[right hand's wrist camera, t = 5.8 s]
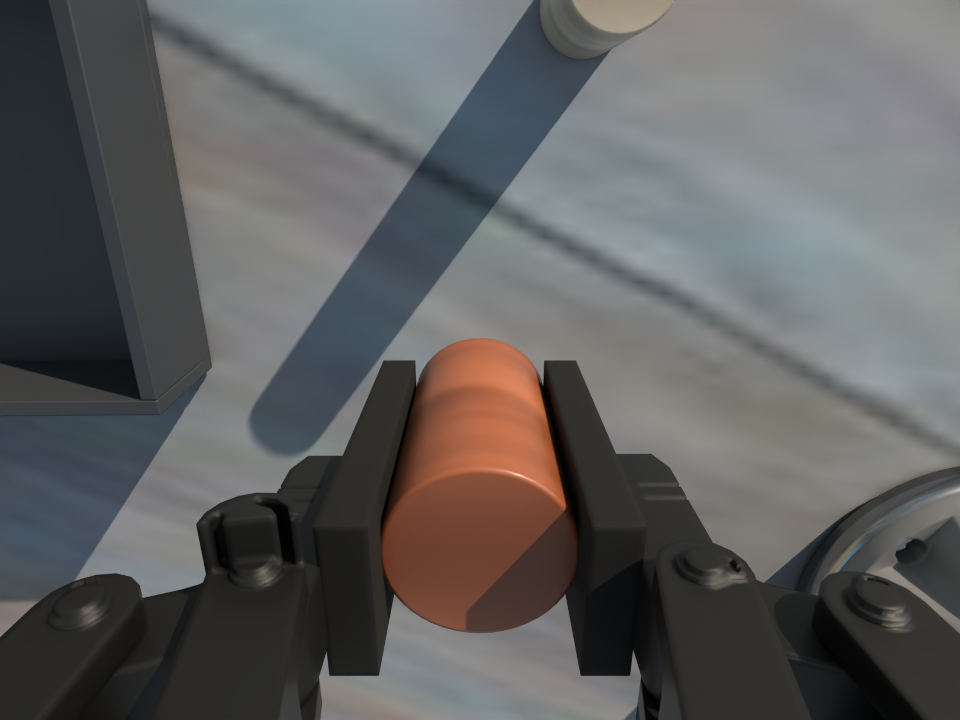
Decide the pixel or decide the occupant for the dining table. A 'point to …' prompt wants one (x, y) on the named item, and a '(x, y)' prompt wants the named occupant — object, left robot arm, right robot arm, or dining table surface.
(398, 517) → the terracotta peg
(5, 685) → the right robot arm
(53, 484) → the dining table surface
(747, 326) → the dining table surface
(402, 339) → the dining table surface
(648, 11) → the cream peg
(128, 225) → the tray
